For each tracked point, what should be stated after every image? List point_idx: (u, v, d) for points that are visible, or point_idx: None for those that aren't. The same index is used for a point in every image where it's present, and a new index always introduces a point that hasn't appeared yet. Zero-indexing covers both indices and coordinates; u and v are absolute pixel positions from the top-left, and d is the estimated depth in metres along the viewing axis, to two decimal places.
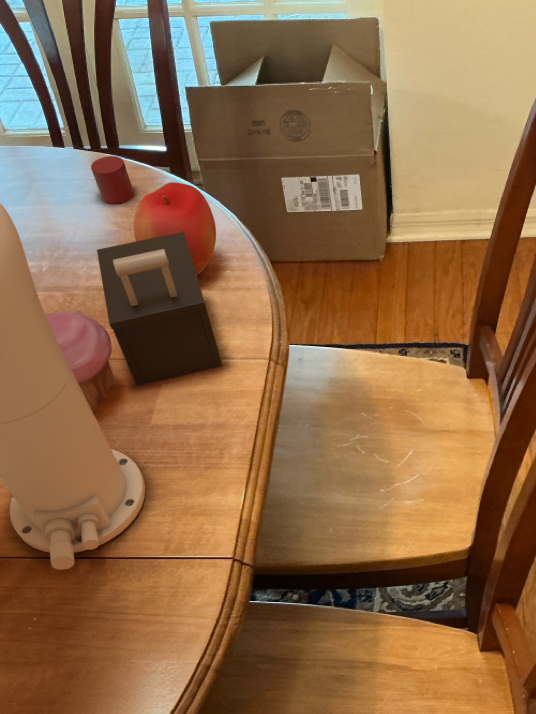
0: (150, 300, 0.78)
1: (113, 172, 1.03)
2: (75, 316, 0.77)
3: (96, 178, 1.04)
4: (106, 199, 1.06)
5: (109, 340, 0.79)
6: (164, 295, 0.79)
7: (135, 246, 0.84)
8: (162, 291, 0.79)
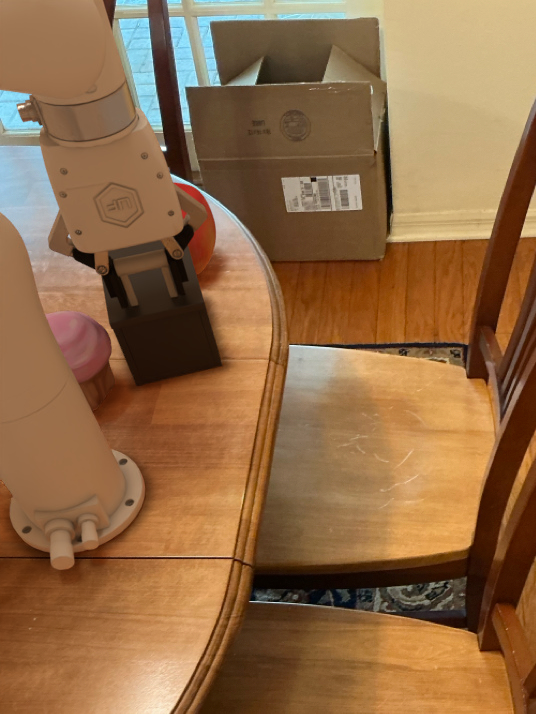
0: (150, 300, 0.78)
1: None
2: (75, 316, 0.77)
3: None
4: None
5: (109, 340, 0.79)
6: (164, 295, 0.79)
7: (135, 246, 0.84)
8: (162, 291, 0.79)
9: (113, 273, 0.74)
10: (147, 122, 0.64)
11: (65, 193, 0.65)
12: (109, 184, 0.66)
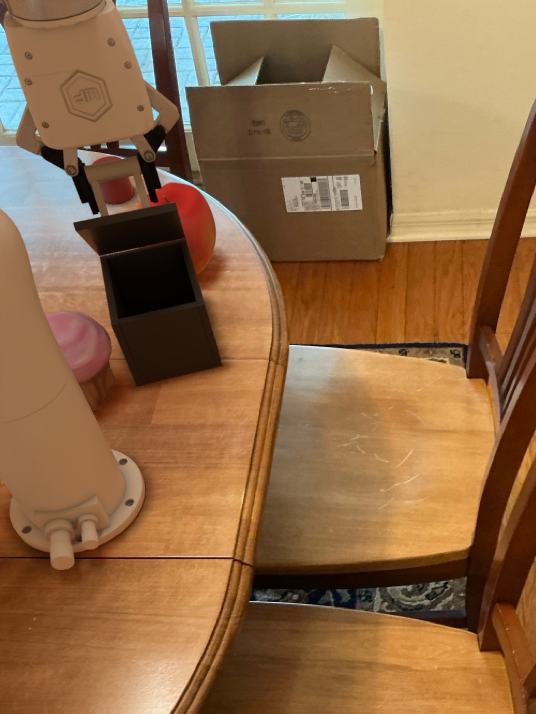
0: None
1: None
2: (75, 316, 0.77)
3: None
4: (106, 199, 1.06)
5: (109, 340, 0.79)
6: None
7: None
8: None
9: (83, 175, 0.72)
10: (114, 7, 0.63)
11: (30, 80, 0.64)
12: (76, 72, 0.65)
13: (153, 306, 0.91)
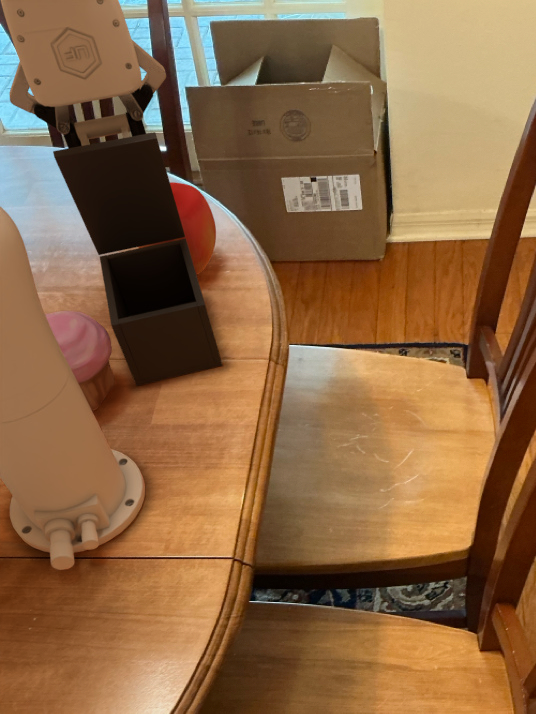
0: None
1: None
2: (75, 316, 0.77)
3: None
4: None
5: (109, 340, 0.79)
6: None
7: None
8: None
9: (74, 132, 0.75)
10: None
11: (22, 37, 0.67)
12: (66, 30, 0.68)
13: (153, 306, 0.91)
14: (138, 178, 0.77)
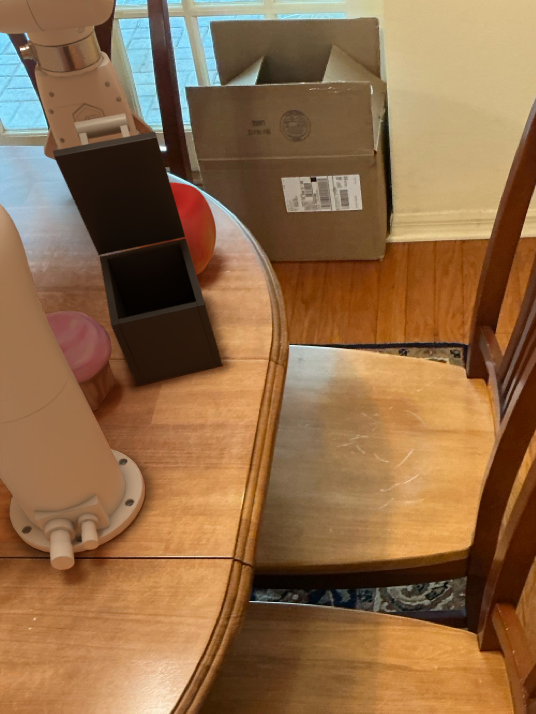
0: None
1: None
2: (75, 316, 0.77)
3: None
4: None
5: (109, 340, 0.79)
6: None
7: None
8: None
9: None
10: (109, 61, 0.94)
11: (52, 110, 0.95)
12: (83, 104, 0.95)
13: (153, 306, 0.91)
14: (138, 178, 0.77)
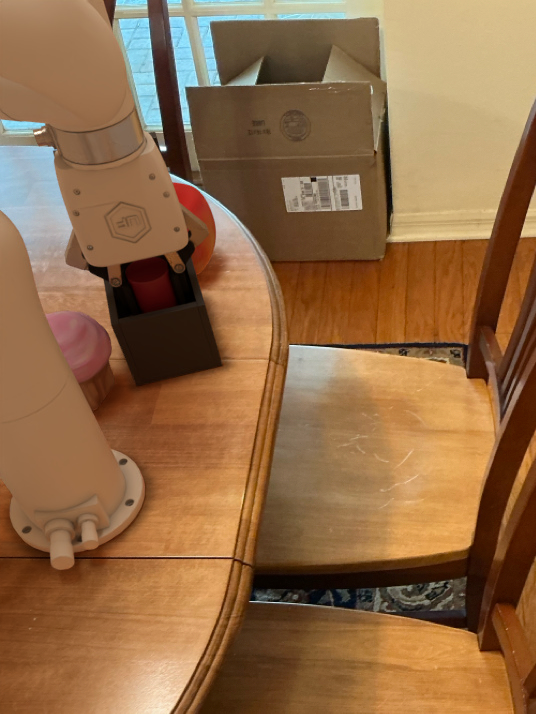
0: None
1: (155, 281, 0.78)
2: (75, 316, 0.77)
3: (132, 288, 0.79)
4: (144, 312, 0.81)
5: (109, 340, 0.79)
6: None
7: None
8: None
9: (126, 285, 0.78)
10: (154, 145, 0.69)
11: (77, 211, 0.70)
12: (119, 203, 0.70)
13: None
14: None
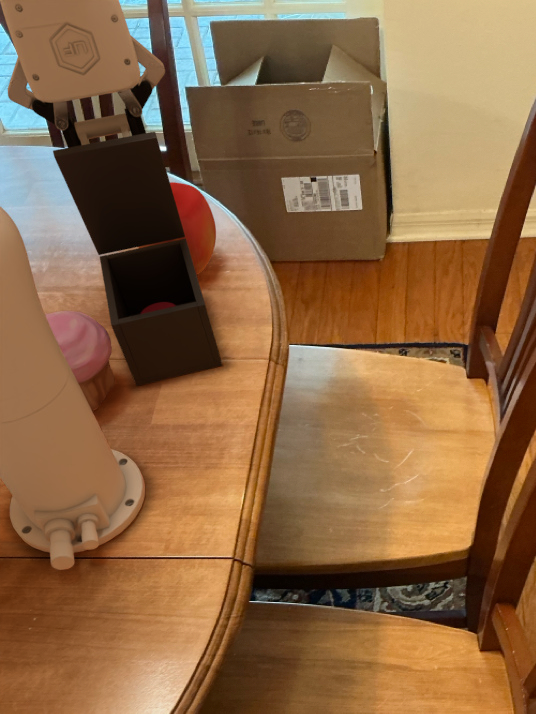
0: None
1: None
2: (75, 316, 0.77)
3: None
4: None
5: (109, 340, 0.79)
6: None
7: None
8: None
9: (73, 129, 0.75)
10: None
11: (21, 32, 0.67)
12: (64, 25, 0.67)
13: None
14: (138, 178, 0.77)
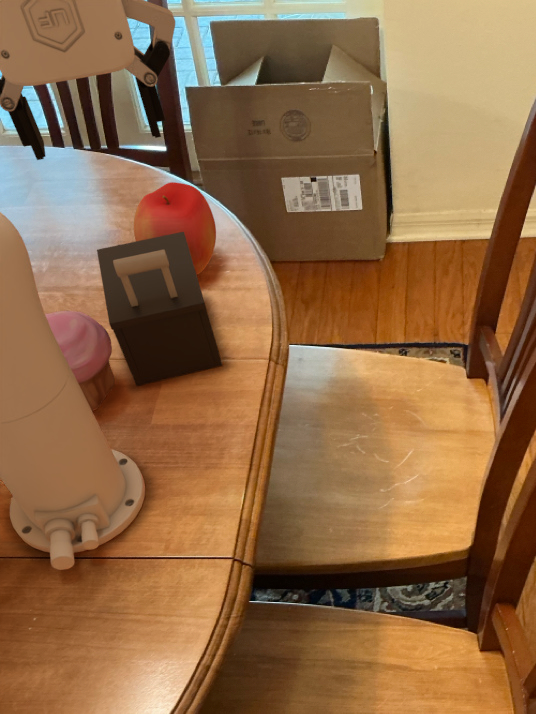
0: (150, 300, 0.78)
1: None
2: (75, 316, 0.77)
3: None
4: None
5: (109, 340, 0.79)
6: (164, 295, 0.79)
7: (135, 246, 0.84)
8: (162, 291, 0.79)
9: (22, 109, 0.61)
10: None
11: None
12: None
13: None
14: None
